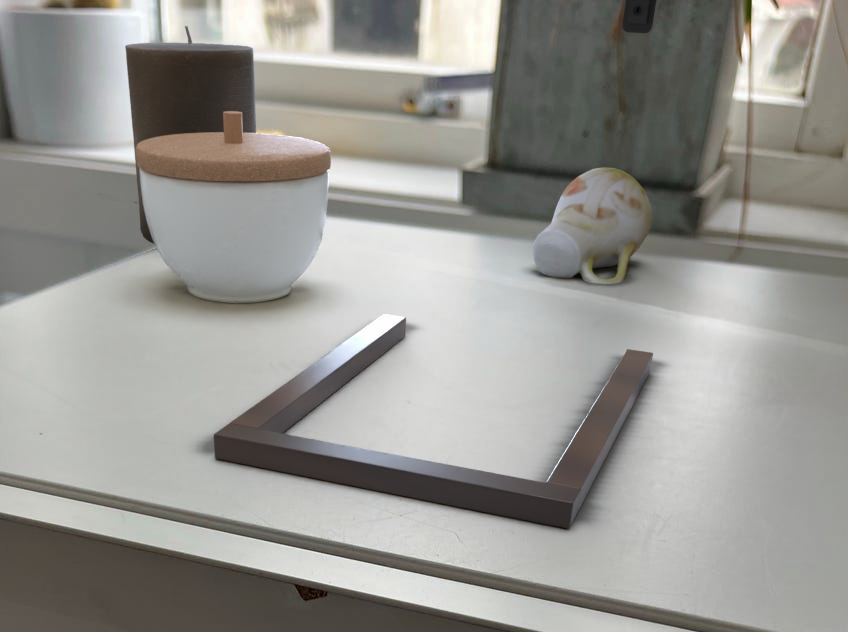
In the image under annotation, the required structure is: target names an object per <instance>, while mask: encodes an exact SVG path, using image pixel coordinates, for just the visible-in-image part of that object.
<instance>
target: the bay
mask: <svg viewBox="0 0 848 632" xmlns="http://www.w3.org/2000/svg"><path fill="white" fill-rule="evenodd" d="M406 330H407V316H401V315H392V314H386V313H384V314H382V315H381V316H379V317H378V318H376V319H375V320H374V321H372V322H371V323H369V324H368V325H366V326H365V327H363V328H361V330H359V331H357V332H356V333H355V334H354V335H351V337H349V338H348V339H346V340H345V341H343V342H342V343H341V344H339V345H338V346H337V347H334V349H333V350H331V351H330V352H327V354H325V355H324V356H322V357H321V358H319V359H318V360H317V361H315V362H314V363H312V364H311V365H309V366H308V367H307V368H305V369H304V370H303V371H301V372H300V373H298V374H297V375H296V376H294V377H292V378H291V379H289V380H288V381H287V382H286V383H284V384H283V385H281V386H279V387H278V388H277V389H276V390H274V391H273V392H271V393H270V394H268V395H267V396H265V397H264V398H263V399H261V400H260V401H259V402H257V403H256V404H255V405H253V406H251V407H250V408H249V409H247V410H246V411H245V412H243V413H242V414H240V415H238V417H236V418H234V419H233V420H231V421H229V423H228V424H226V425H225V426H223V427H222V428H221V429H219V430H218V431H216V432H215V433H214V434H213V448H214V449H213V450H214V458H215V459H216V460H221V461H225V462H226V461H227V462H231V463H235V464H236V463H237V464H241V465H246V466H252V467H256V468H261V469H265V470H266V469H267V470H272V471H277V472H281V473H286V474H291V475H296V476H301V477H307V478H312V479H317V480H322V481H326V482H330V483H331V482H332V483H336V484H341V485H346V486H351V487H357V488H361V489H366V490H371V491H377V492H382V493H387V494H392V495H395V496H396V495H397V496H402V497H407V498H412V499H416V500H423V501H426V502H432V503H437V504H442V505H447V506H451V507H458V508H461V509H467V510H471V511H472V510H473V511H476V512H483V513H487V514H492V515H498V516H502V517H508V518H512V519H517V520H523V521H527V522H532V523H538V524H543V525H547V526H552V527H557V528H561V529H566V530H567V529H568V530H569V529H570V528H571V526H572V525H573V522H574V521H575V519H576V517H577V514H578V513H579V511H580V509H581V507H582V505H583V503H584V502H585V499H586V497H587V496H588V493H589V491H590V489H591V487H592V485H593V483H594V481H595V480H596V477H597V476H598V475H599V472H600V470H601V468H602V466H603V464H604V463H605V460H606V458H607V457H608V455H609V453H610V450H611V449H612V447H613V445H614V443H615V441H616V439H617V437H618V435H619V433H620V431H621V429H622V427H623V425H624V424H625V421H626V419H627V417H628V415H629V414H630V412H631V409H632V408H633V406H634V404H635V402H636V400H637V398H638V395H639V394H640V392H641V390H642V388H643V386H644V385H645V382H646V380H647V378H648V376H649V375H650V373H651V367H652V363H653V356H654V353H653V352H651V351H644V350H638V349H631V348H628V349H626V350H625V352H624V354H623V356H622V357H621V358H620V360H619V362H618V364H617V365H616V367H615V369H614V370H613V372H612V374H611V375H610V376H609V379H608V380H607V381H606V383H605V385H604V386H603V388H602V390H601V392H600V393H599V395H598V397H597V398H596V400H595V401H594V403H593V405H592V406H591V408H590V410H589V411H588V413H587V414H586V416H585V418H583V421H582V422H581V424H580V426H579V427H578V430H577V431H576V432H575V434H574V435H573V438H572V439H571V441H570V442H569V444H568V445H567V448H566V449H565V451H564V452H563V454H562V456H561V457H560V459H559V460H558V462H557V463H556V465H555V467H554V469H553V470H552V471H551V474H550V475H549V477H548V478H547V480H546V482H545V481H538V480H533V479H529V478H522V477H517V476H513V475H512V476H511V475H507V474H501V473H495V472H490V471H484V470H479V469H474V468H469V467H464V466H459V465H454V464H448V463H443V462H437V461H432V460H427V459H420V458H416V457H411V456H405V455H400V454H394V453H388V452H383V451H378V450H372V449H368V448H367V449H366V448H361V447H357V446H351V445H346V444H341V443H335V442H331V441H324V440H319V439H314V438H308V437H304V436H298V435H292V434H288V433H285V432H286V431H288V430H289V429H290V428H291V427H293V426H294V425H295V424H297V423H298V422H299V421H300V420H301V419H303V418H304V417H305V416H306V415H308V414H309V413H310V412H311V411H312V410H313V411H314V409H315V408H316V407H318V406H319V405H320V404H321V403H323V402H324V401H326V400H327V399H328V398H329V397H330V396H332V395H333V394H334V393H336V392H337V391H338V390H339V389H341V388H342V387H343V386H344V385H346V384H347V383H348V382H349V381H351V380H352V379H353V378H354V377H356V376H357V375H358V374H359V373H361V372H362V371H364V370H365V369H366V368H367V367H369V366H370V365H371V364H372V363H374V362H375V361H376V360H377V359H379V358H380V357H381V356H382V355H384V353H386V352H387V351H389V350H390V349H392V348H393V347H394V346H395V345H396V344H398V343H399V342H400V341H401V340H402V339H404V338H405V337H406V332H407V331H406Z"/></svg>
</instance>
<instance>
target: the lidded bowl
mask: <svg viewBox="0 0 848 632" xmlns="http://www.w3.org/2000/svg"><path fill="white" fill-rule="evenodd" d="M223 121H224V132H206V133H185V134H173V135H165V136H159V137H154V138H150V139H147V140H143V141H141V142H140V143H138V144H137V146H136V148H135V151H134V154H135V153H136V162H137V166H138V167H139V172H140V184H141V193H142V200H143V206H144V211H145V216H146V220H147V224H148V227H149V230H150V234H151V237H152V239H153V242H154V244H153V245H154V246H155V248H156V250H157V253H158V254H159V256H160V257H161V259H162V261H163V262H164V264H165V265H166V266H167V267H168V269H170V270H171V272H172V273H173V274H174V275H175V276H176V277H177V278H178V279H179V280H181V281H182V282H183V283H184V284H185V285H186V287H187V291H188V293H189V294H191V296H194V297H196V298H199V299H203V300H207V301H212V302H219V303H234V304H239V303H241V304H243V303H244V304H247V303H260V302H266V301H267V302H268V301H272V300H273V301H274V300H276V299H280V298H283V297H285V296H287V295H289V294H290V293H291V291H292V286H293V284H294V283H295V282H296V281H297V280H299V279H300V277H301V276H302V275H304V274H305V272H306V271H307V270H308V268H309V267H310V266H311V264H312V263H313V261H314V259H315V257H316V256H317V253H318V250H319V247H320V245H321V243H322V240H323V236H324V231H325V228H326V227H325V226H326V222H327V214H328V205H329V190H330V189H329V188H330V187H329V183H330V181H329V178H330V177H329V175H330V173H329V170H330V169H331V165H332V150H331V149H330V147H329V146H328V145H327V144H324V143H322V142H320V141H317V140H314V139H310V138H304V137H301V136H293V135H283V134H274V133H261V132H260V133H259V132H256V133H243V125H242V112H238V111H225V112H223ZM136 162H135V163H136Z"/></svg>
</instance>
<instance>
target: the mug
mask: <svg viewBox="0 0 848 632" xmlns="http://www.w3.org/2000/svg"><path fill="white" fill-rule="evenodd" d="M651 224H652V206H651V202H650V199H649V198H648V195H647V193H646V191H645V190H644V188H643V187H642V185H641V184H640V183H639V182H638V181H637V180H636V178H634V177H633V176H632V175H631V174H629V173H627V172H625V170H624V171H623V170H622V169H618V168H616V167H615V168H614V167H606V166H605V167H596V168H592V169H590V170H587V171H585V172H583V173H582V174H580V175H578V176H577V177H576V178H574V179H573V180H572V181H570V183H569V184H568V185H567V187H566V188H565V189H564V190H563V192H562V194H561V195H560V198H559V200H558V202H557V205H556V207H555V210H554V213H553V217H552V219H551V222H550V224H549V225H548V226H547V227H546V228H544V230H542V231H540V233H539V234H538V235H537V236H536V238H535V240H534V243H533V245H532V257H533V262H534V264H535V265H534V266H536V269H537V270H538V271H539V272H540V274H542V275H545V276H548V277H553V278H559V279H560V278H561V279H571V278H574V276H575V277H576V276H577V274H580V275H581V278H582V280H583V281H584V282H586V283H588V284H595V285H596V284H597V285H612V284H619V283H621V282H623V281H625V278H626V274H627V269H628V265H629V261H630V259H631V258H632V257H633V255H634V254H635V253H636V252H637V251H638V250H639V249H640V248H641V246H642V245H643V243H644V241H645V240H646V238H647V237H648V235H649V232H650V229H651ZM614 266H617V269H616V275H615V277H612V278H608V279H607V278H601V277H598V276H597V275H596V274H595V273H594V271H593V270H594V269H603V268H608V267H609V268H610V267H614Z"/></svg>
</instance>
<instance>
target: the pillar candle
mask: <svg viewBox="0 0 848 632" xmlns="http://www.w3.org/2000/svg"><path fill="white" fill-rule="evenodd" d="M184 28H185V32H186V36H187V42H139V43H138V42H137V43H130V44H126V45H125V46H124V47H125V48H124V49H125V57H126V59H125V60H126V70H127V78H128V79H127V80H128V81H127V83H128V93H129V104H130V115H131V117H130V118H131V128H132V136H133V148H134V149H133V150H134V160H135V173H136V174H135V175H136V186H137V195H138V210H139V211H138V212H139V227H140V228H139V230H140V232H141V235H142V237H143V238H144V239H145V240H146V241H148V243H150V244H152V245H155V244H154V242H153V239H152V237H151V234H150V230H149V227H148V224H147V220H146V216H145V211H144V206H143V200H142V193H141V184H140V172H139V167H138V166H137V162H136V153H135V148H136V146H137V144H138V143H140V142H141V141H143V140H147V139H150V138H154V137H159V136H165V135H173V134H185V133H206V132H224V121H223V112H225V111H238V112H242V125H243V133H257V120H256V119H257V118H256V116H257V115H256V90H255V85H256V84H255V63H254V48H253V47H252V46H248V45H240V44H239V45H238V44H236V45H235V44H222V43H205V42H204V43H203V42H201V43H199V42H195V43H194V42H193V40H192V36H191V34H190V30H189V27H188V26H187V25H184Z"/></svg>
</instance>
